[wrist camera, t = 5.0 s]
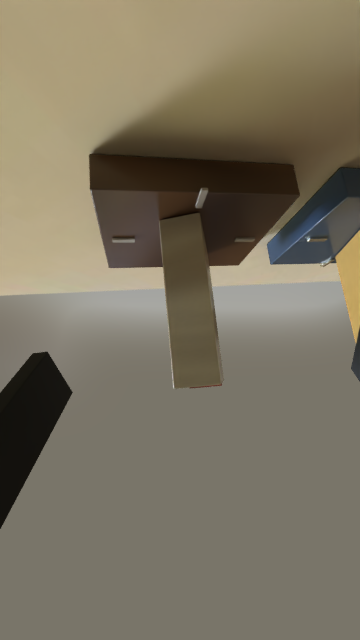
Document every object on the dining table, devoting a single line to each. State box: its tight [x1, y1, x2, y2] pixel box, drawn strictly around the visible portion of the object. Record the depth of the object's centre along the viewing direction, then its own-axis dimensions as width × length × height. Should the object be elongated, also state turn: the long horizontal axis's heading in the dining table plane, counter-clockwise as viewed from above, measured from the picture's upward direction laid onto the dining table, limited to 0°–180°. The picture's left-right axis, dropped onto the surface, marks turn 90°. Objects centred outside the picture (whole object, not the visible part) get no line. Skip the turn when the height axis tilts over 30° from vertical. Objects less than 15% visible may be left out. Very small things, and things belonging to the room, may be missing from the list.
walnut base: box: [89, 154, 300, 268], centre depth 18 cm, size 11×10×2 cm
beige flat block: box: [159, 213, 224, 389], centre depth 17 cm, size 6×2×10 cm, turn 11°
